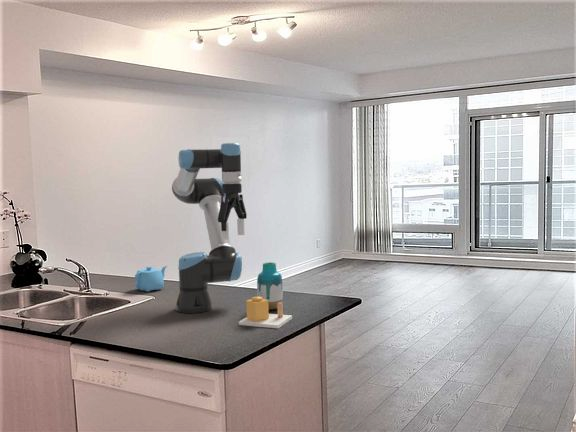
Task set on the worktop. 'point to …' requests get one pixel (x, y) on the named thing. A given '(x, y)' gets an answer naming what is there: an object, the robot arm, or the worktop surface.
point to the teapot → (150, 279)
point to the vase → (270, 285)
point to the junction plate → (273, 320)
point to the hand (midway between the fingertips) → (233, 237)
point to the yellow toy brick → (257, 309)
